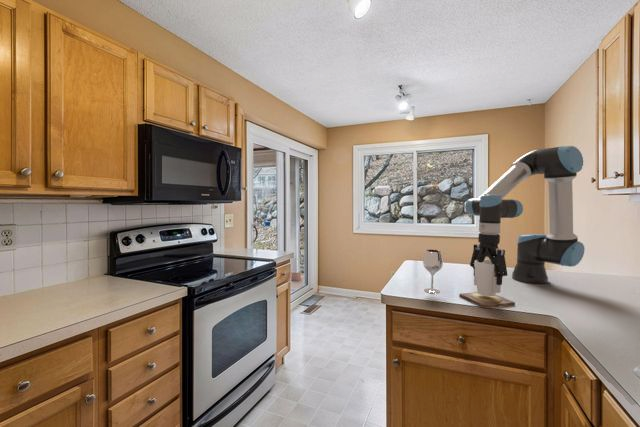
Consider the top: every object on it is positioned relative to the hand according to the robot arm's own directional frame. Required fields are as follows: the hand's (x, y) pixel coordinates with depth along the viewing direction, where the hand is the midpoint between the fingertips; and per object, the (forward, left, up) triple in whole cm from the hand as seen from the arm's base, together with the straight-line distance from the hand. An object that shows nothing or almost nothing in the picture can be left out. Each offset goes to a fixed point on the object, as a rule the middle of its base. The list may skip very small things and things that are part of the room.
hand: (486, 288), depth 127 cm
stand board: (0, 0, -5) cm, 5 cm away
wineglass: (+14, -16, -5) cm, 22 cm away
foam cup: (0, 0, -2) cm, 2 cm away
